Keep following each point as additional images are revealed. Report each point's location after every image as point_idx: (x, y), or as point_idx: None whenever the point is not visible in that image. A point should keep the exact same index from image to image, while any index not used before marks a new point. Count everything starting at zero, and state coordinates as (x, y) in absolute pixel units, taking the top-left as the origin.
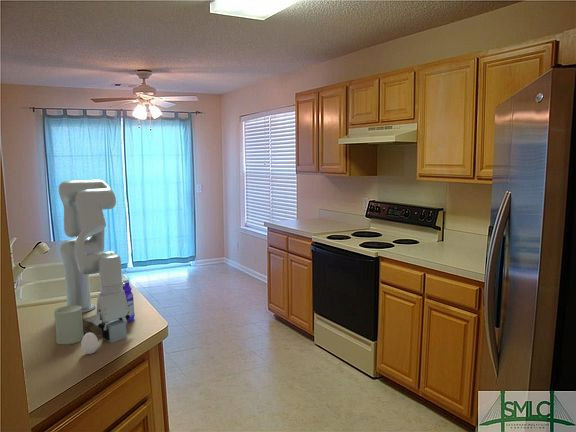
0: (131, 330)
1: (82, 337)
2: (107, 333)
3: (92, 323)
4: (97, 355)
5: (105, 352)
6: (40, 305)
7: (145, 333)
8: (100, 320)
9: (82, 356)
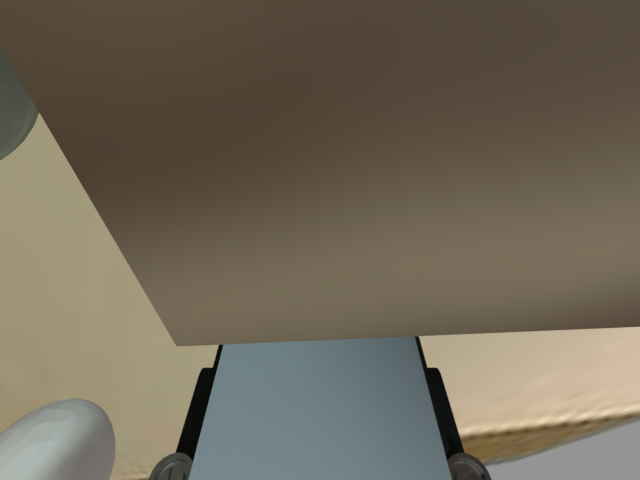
0: None
1: (2, 146)
2: None
3: (102, 181)
4: (120, 429)
5: (169, 429)
6: None
7: (499, 401)
8: (332, 219)
9: (31, 402)
